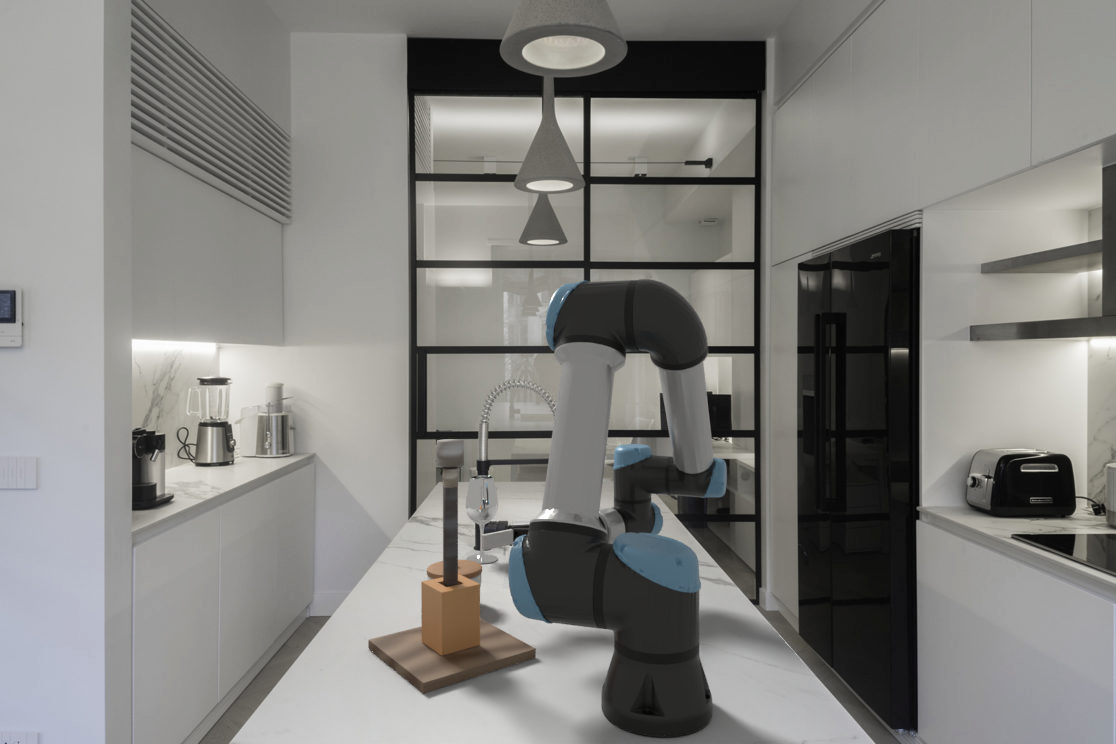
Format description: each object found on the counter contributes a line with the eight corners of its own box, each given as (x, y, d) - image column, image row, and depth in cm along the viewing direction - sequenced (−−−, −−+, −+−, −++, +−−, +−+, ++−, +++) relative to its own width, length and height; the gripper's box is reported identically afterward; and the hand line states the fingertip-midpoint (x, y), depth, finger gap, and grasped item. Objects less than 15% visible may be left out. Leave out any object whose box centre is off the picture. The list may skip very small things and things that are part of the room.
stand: (535, 657, 114) (535, 442, 114) (423, 693, 102) (422, 451, 102) (472, 621, 130) (471, 432, 130) (368, 648, 118) (367, 439, 117)
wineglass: (504, 558, 172) (504, 476, 172) (484, 566, 166) (484, 481, 165) (479, 553, 176) (479, 473, 176) (458, 561, 170) (458, 478, 169)
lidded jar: (472, 618, 132) (471, 568, 132) (418, 614, 134) (418, 564, 134) (488, 599, 143) (488, 552, 143) (438, 595, 145) (438, 550, 145)
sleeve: (480, 644, 116) (480, 584, 115) (441, 655, 111) (441, 592, 111) (458, 632, 121) (458, 573, 121) (421, 641, 117) (421, 581, 117)
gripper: (641, 565, 126) (545, 591, 113) (556, 536, 146) (466, 555, 133) (641, 524, 126) (545, 545, 113) (556, 500, 146) (466, 516, 133)
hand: (502, 551), depth 123 cm, fingers open, 13 cm apart
